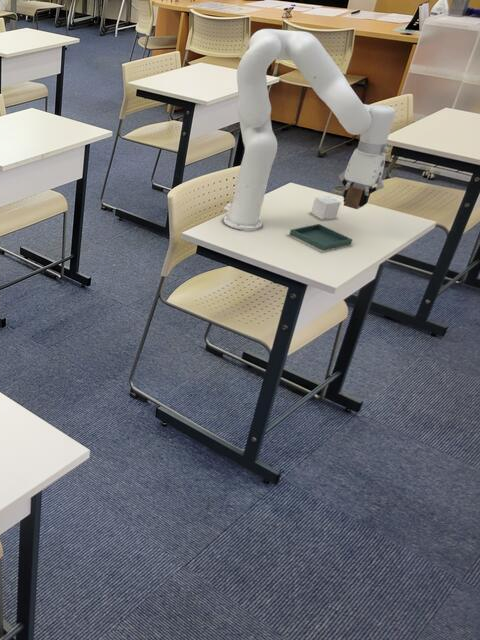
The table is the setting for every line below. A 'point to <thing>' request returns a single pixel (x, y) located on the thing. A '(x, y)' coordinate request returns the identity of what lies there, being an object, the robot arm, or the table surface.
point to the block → (354, 196)
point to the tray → (320, 237)
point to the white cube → (325, 207)
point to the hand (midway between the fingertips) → (354, 202)
